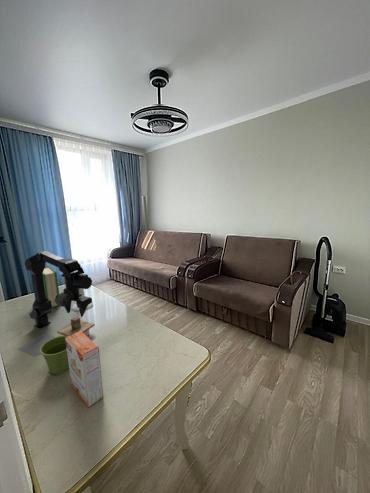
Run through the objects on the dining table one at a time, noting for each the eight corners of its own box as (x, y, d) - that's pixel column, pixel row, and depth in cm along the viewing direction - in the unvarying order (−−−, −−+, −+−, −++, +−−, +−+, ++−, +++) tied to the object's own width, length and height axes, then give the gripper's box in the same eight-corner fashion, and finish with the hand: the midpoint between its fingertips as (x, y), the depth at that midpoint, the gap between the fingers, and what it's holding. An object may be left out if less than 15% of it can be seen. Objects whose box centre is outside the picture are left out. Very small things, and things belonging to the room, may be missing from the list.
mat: (17, 350, 98) (17, 348, 98) (45, 334, 110) (44, 333, 110) (35, 357, 93) (35, 356, 93) (62, 340, 105) (62, 339, 105)
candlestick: (86, 300, 148) (82, 259, 142) (97, 305, 141) (93, 262, 135) (68, 307, 138) (63, 263, 132) (78, 313, 130) (73, 267, 124)
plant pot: (52, 385, 79) (49, 359, 77) (37, 371, 85) (33, 347, 83) (82, 365, 89) (79, 341, 87) (66, 354, 95) (64, 332, 93)
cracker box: (70, 386, 79) (64, 336, 75) (86, 376, 83) (81, 329, 79) (87, 409, 70) (81, 355, 66) (104, 397, 74) (99, 345, 70)
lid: (57, 332, 103) (55, 322, 102) (77, 320, 114) (76, 310, 113) (74, 338, 99) (73, 327, 98) (94, 325, 110) (93, 315, 109)
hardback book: (60, 305, 140) (56, 271, 135) (47, 309, 135) (43, 274, 130) (53, 297, 152) (49, 265, 147) (41, 300, 147) (37, 268, 142)
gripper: (43, 288, 98) (47, 318, 102) (71, 295, 92) (75, 327, 95) (64, 280, 109) (67, 308, 112) (91, 286, 102) (94, 315, 105)
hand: (75, 314), depth 105 cm, fingers open, 9 cm apart
